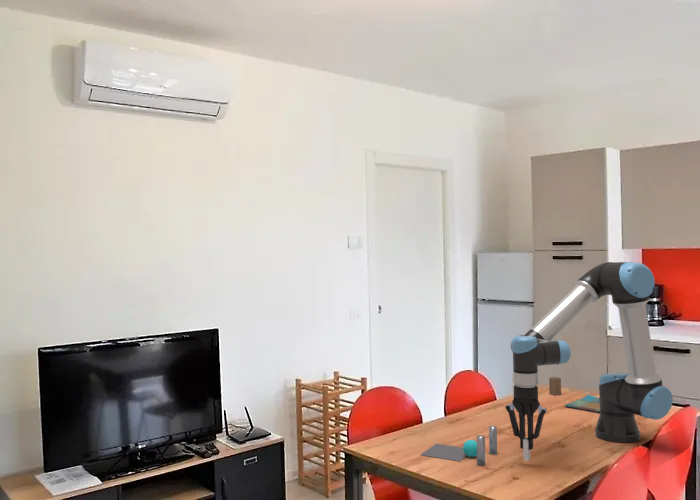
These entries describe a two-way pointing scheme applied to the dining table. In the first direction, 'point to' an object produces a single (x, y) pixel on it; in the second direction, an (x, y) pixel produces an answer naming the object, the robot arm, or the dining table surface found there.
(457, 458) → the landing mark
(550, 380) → the wooden block
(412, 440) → the dining table surface
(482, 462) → the post
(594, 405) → the dish towel
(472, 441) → the ball
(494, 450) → the post
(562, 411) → the dining table surface
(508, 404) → the robot arm
